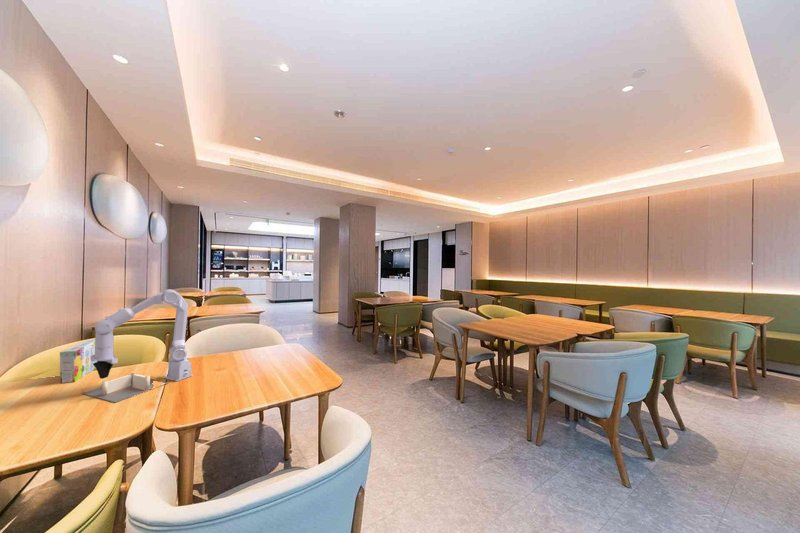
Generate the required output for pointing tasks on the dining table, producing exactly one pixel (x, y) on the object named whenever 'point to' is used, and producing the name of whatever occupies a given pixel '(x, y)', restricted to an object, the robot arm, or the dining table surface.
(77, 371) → the snack box
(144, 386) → the fixed fence section
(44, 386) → the dining table surface
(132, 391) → the card
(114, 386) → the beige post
